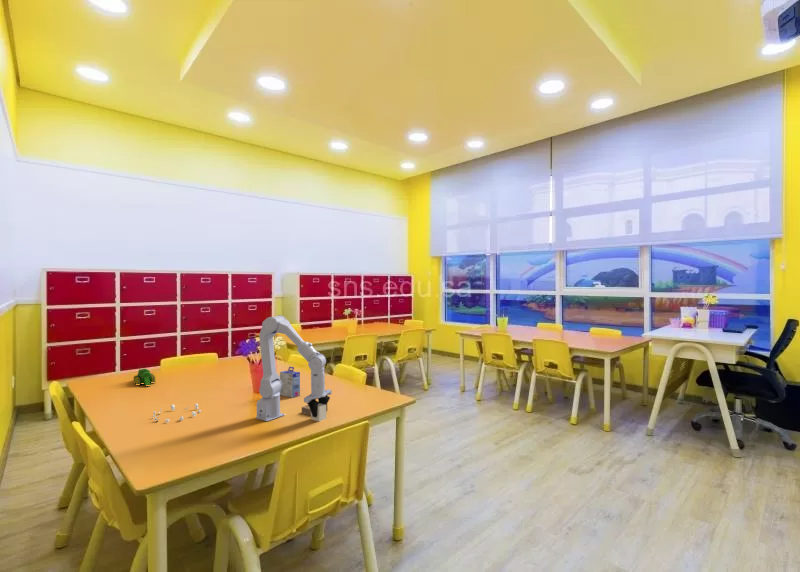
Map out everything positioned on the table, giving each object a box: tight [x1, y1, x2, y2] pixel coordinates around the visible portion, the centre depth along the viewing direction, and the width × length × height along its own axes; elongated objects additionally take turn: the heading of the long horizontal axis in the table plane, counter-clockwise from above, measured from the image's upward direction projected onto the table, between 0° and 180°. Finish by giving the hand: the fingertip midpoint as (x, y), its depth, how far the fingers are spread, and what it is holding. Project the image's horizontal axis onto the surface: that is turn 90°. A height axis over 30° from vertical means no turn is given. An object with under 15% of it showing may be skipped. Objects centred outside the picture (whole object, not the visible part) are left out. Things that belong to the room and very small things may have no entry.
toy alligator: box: [133, 368, 156, 386], centre depth 237 cm, size 10×32×9 cm, turn 41°
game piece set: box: [152, 403, 202, 423], centre depth 176 cm, size 19×20×4 cm
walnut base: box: [301, 404, 328, 416], centre depth 177 cm, size 8×8×3 cm
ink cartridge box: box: [279, 366, 301, 398], centre depth 204 cm, size 10×6×14 cm, turn 58°
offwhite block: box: [310, 403, 327, 422], centre depth 168 cm, size 4×5×6 cm
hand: (318, 415), depth 168 cm, fingers closed on offwhite block, 4 cm apart
